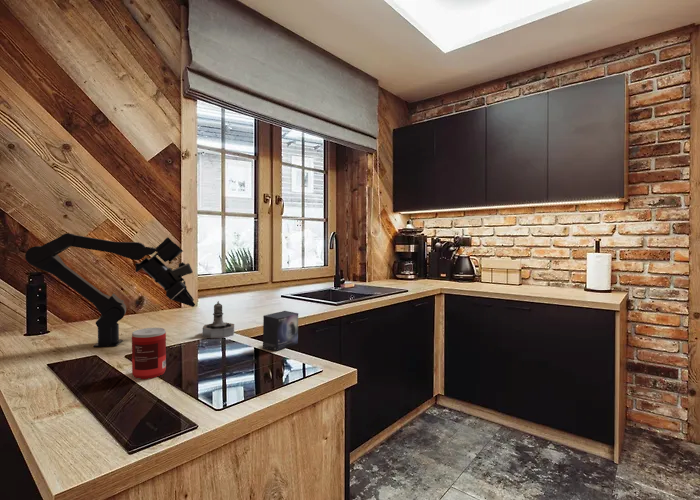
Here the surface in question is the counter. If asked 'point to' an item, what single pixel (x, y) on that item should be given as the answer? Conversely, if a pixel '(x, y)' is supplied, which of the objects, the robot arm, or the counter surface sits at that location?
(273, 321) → the small box
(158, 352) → the canned food
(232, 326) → the grey polygonal dish
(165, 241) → the robot arm
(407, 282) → the counter surface
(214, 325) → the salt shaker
